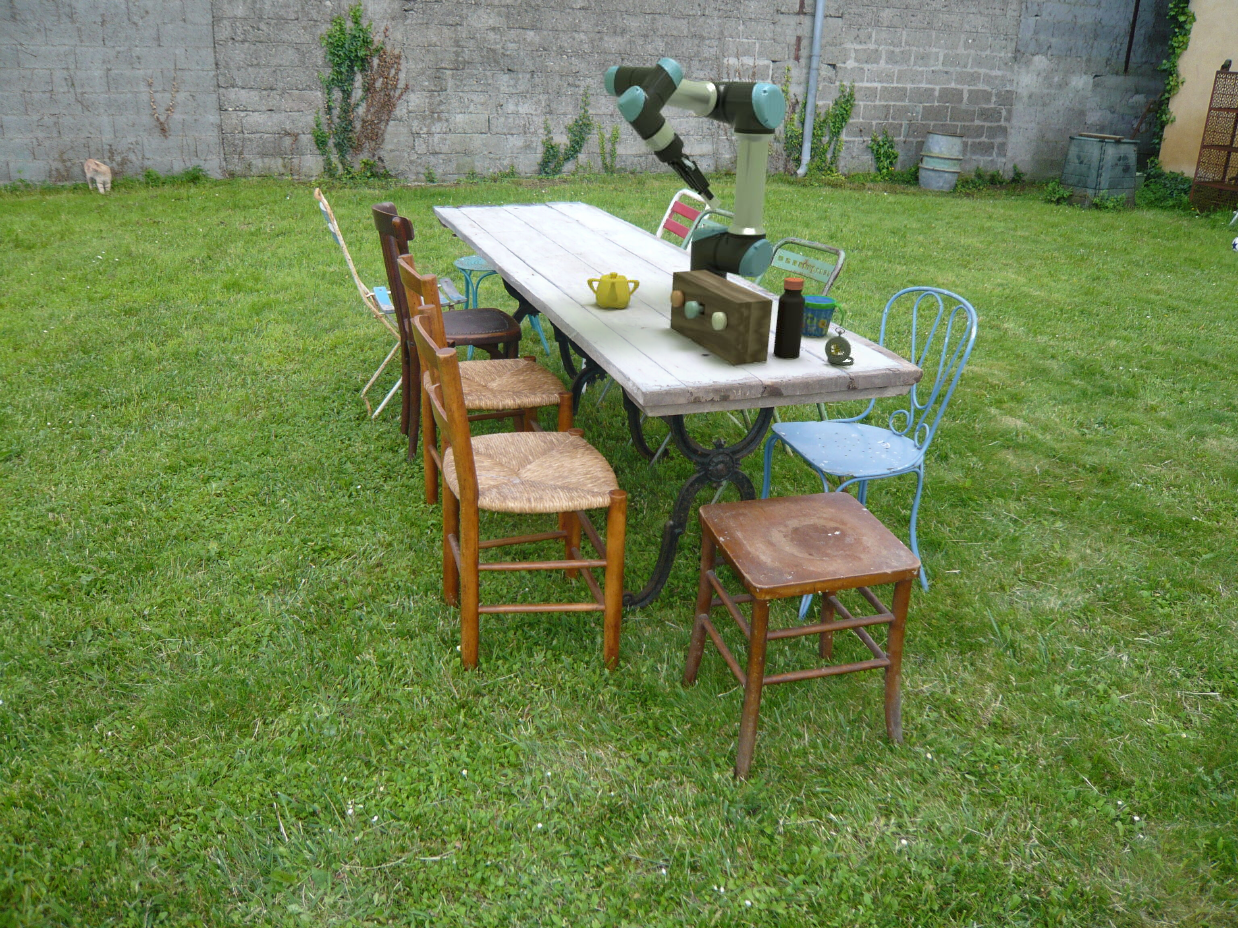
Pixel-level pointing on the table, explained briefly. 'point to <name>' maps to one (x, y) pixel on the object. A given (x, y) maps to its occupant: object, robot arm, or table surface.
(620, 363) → the table surface
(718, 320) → the cream button
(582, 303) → the table surface
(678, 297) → the terracotta button
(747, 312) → the console
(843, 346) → the pocket watch
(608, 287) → the yellow handled pot
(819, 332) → the snack cup
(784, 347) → the bottle
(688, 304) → the teal button
